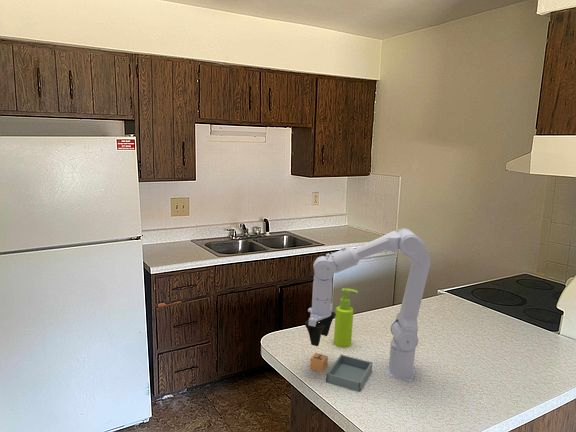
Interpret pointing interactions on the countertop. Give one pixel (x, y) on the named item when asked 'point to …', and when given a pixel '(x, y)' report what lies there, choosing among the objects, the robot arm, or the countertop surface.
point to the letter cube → (318, 362)
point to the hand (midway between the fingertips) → (319, 339)
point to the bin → (349, 372)
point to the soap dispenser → (344, 320)
